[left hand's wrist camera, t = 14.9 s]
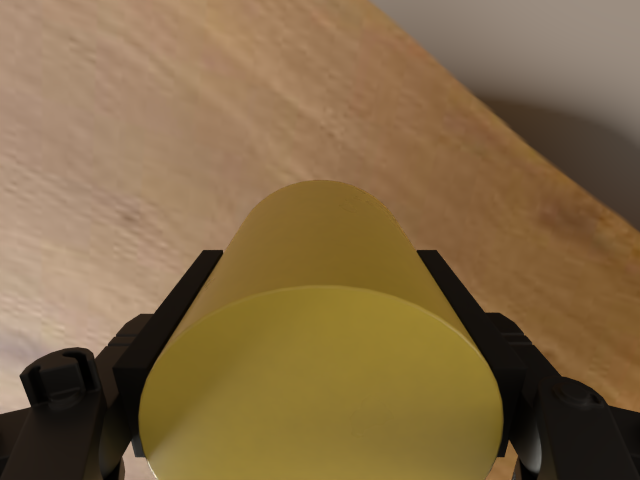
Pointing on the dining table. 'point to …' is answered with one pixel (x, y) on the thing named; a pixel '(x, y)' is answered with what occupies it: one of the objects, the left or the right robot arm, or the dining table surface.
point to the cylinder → (320, 357)
